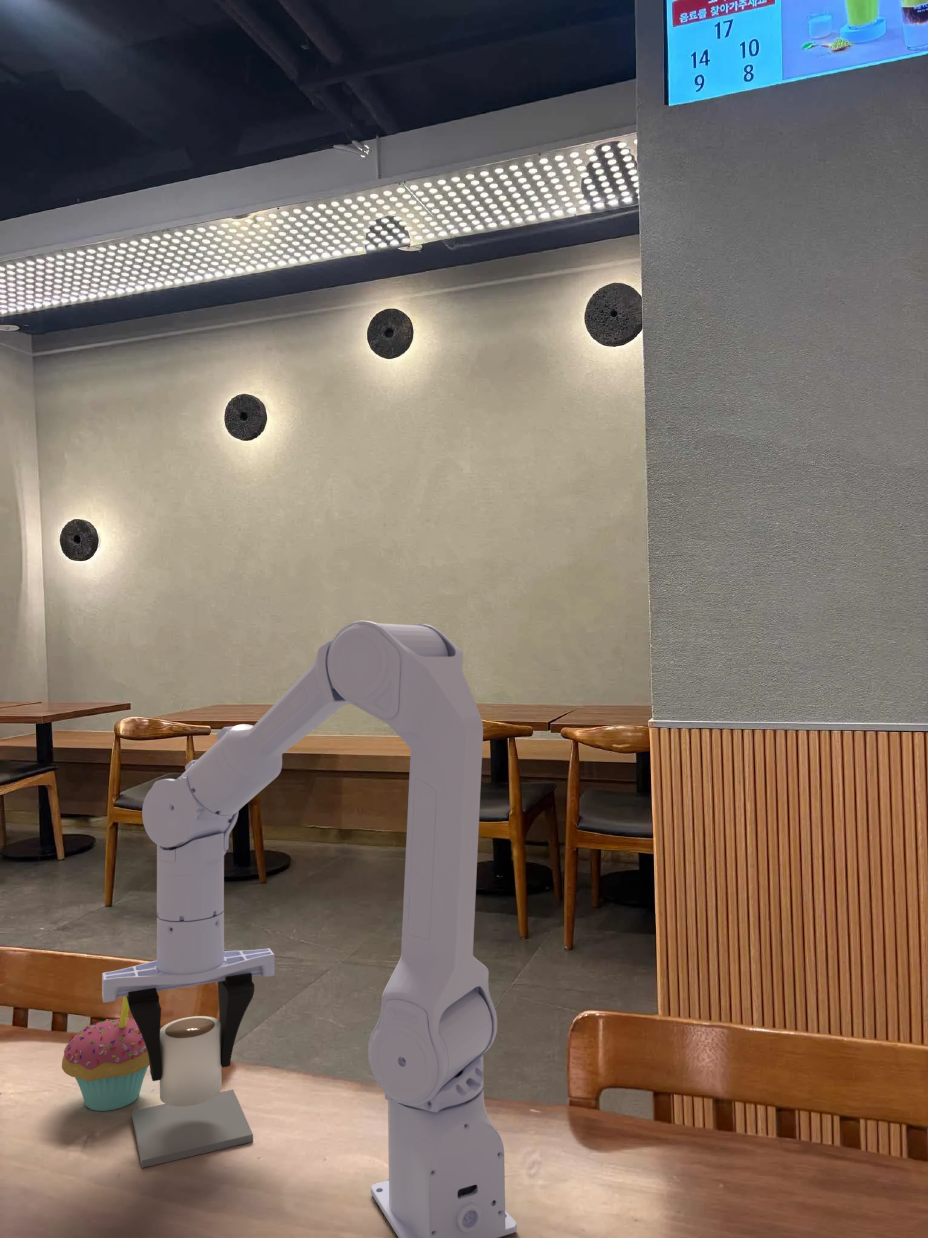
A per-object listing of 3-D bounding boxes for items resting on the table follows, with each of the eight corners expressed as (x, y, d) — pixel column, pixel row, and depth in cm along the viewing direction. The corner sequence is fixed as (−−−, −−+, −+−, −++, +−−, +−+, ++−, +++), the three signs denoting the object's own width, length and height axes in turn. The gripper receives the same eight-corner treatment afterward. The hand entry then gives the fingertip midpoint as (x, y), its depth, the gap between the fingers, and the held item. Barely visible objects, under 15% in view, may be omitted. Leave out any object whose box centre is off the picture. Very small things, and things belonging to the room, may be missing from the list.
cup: (228, 1096, 78) (227, 1031, 78) (166, 1112, 75) (165, 1045, 76) (213, 1072, 82) (212, 1011, 83) (154, 1087, 80) (153, 1024, 80)
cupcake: (173, 1080, 88) (173, 956, 89) (133, 1125, 80) (133, 987, 80) (90, 1077, 89) (91, 955, 90) (42, 1121, 81) (43, 985, 81)
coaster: (252, 1141, 77) (252, 1134, 77) (141, 1168, 73) (141, 1160, 73) (233, 1096, 85) (233, 1089, 85) (132, 1117, 81) (132, 1111, 81)
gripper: (262, 892, 86) (262, 1036, 86) (100, 912, 80) (99, 1067, 80) (279, 911, 80) (280, 1066, 79) (105, 933, 74) (104, 1102, 73)
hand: (190, 1069), depth 79 cm, fingers closed on cup, 5 cm apart
